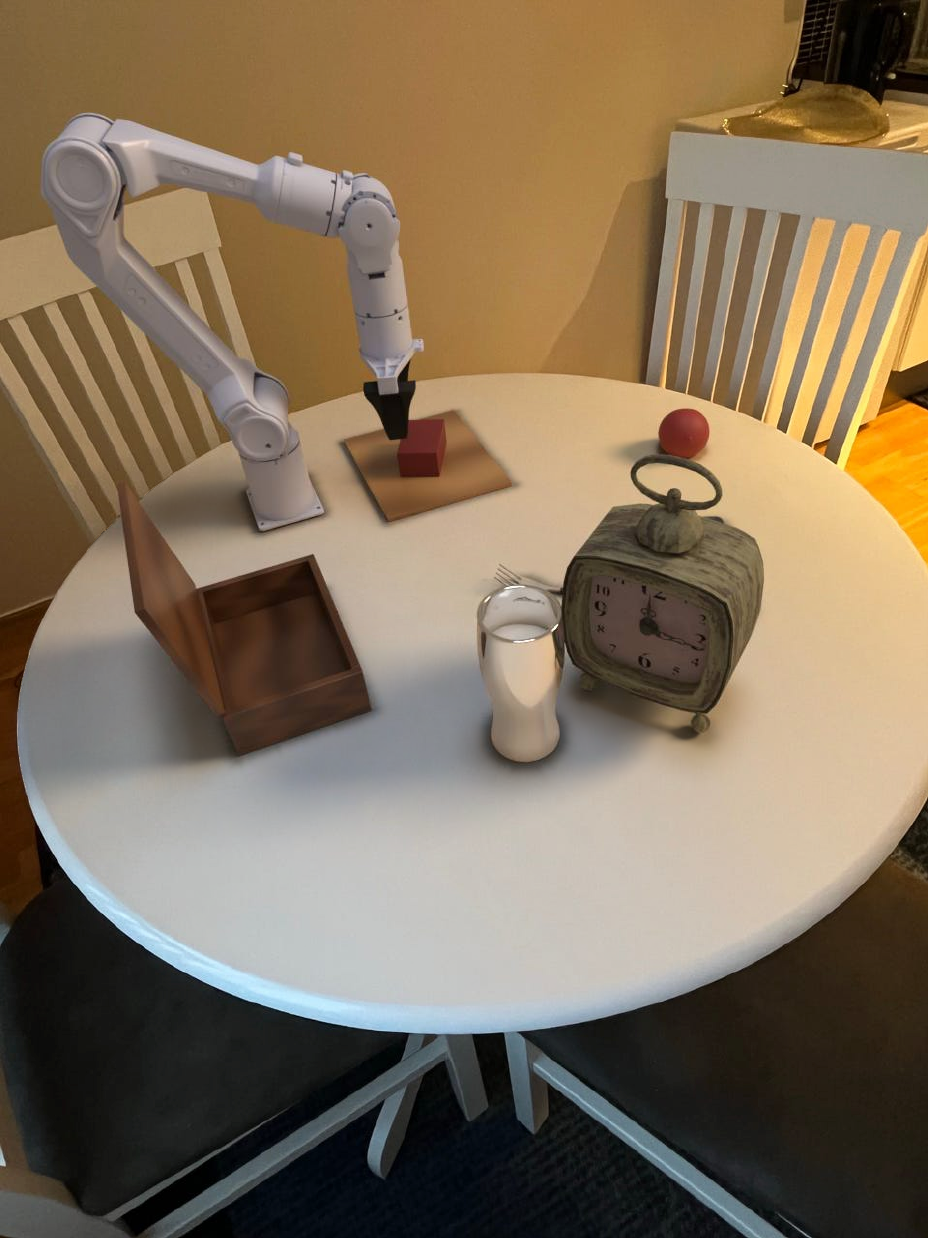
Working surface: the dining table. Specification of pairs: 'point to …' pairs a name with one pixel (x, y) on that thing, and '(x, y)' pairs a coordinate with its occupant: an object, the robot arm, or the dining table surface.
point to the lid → (167, 599)
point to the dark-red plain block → (422, 449)
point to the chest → (280, 654)
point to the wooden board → (404, 496)
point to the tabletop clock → (663, 599)
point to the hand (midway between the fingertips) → (398, 420)
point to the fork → (525, 581)
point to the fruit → (684, 433)
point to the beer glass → (522, 668)
